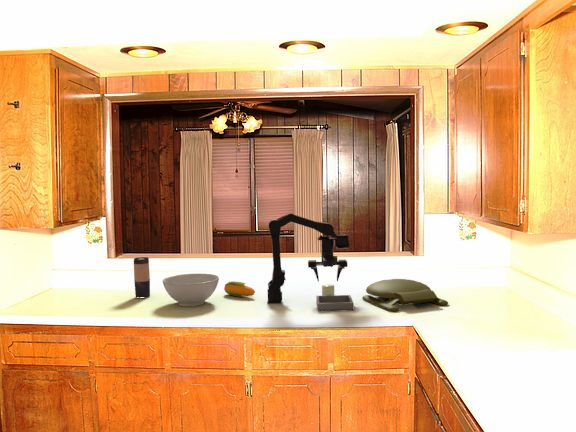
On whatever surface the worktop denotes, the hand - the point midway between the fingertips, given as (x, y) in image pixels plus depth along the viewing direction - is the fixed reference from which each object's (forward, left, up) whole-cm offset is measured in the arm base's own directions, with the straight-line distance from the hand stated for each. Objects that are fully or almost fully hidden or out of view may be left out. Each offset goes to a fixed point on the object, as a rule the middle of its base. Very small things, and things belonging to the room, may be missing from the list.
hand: (327, 281), depth 278 cm
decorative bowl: (-66, -1, -9) cm, 67 cm away
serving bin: (+2, -14, -9) cm, 17 cm away
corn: (-44, +12, -9) cm, 46 cm away
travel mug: (-94, +15, -9) cm, 96 cm away
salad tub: (0, 0, -9) cm, 9 cm away
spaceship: (+34, -5, -10) cm, 36 cm away
